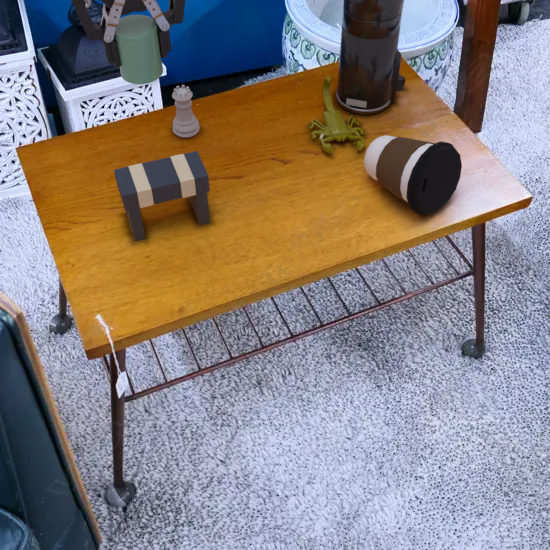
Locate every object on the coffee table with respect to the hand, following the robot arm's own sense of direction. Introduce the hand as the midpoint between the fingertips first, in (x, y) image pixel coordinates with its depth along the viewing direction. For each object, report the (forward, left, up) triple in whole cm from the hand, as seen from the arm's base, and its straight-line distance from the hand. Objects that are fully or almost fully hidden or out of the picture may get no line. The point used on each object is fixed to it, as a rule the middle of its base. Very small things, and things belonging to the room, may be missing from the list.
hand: (139, 58), depth 95 cm
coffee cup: (-33, +5, -21) cm, 39 cm away
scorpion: (-31, -7, -24) cm, 40 cm away
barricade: (0, +4, -24) cm, 25 cm away
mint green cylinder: (0, 0, -2) cm, 2 cm away
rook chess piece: (-8, -15, -24) cm, 30 cm away
